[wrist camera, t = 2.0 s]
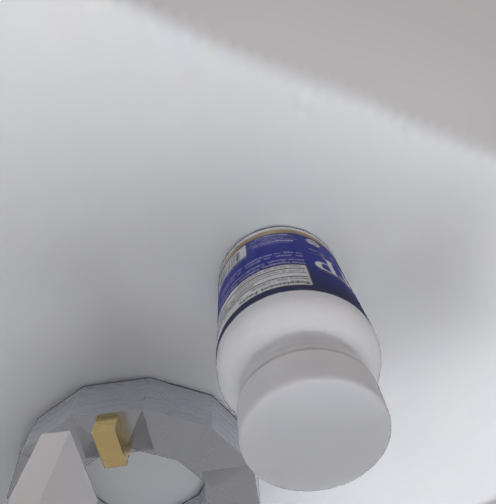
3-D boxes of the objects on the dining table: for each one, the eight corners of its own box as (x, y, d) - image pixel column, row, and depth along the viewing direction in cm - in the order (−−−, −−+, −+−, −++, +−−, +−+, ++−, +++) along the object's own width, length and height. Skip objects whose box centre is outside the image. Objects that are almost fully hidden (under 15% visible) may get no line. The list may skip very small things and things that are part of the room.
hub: (67, 551, 26) (50, 605, 24) (-7, 399, 21) (-39, 446, 19) (266, 525, 26) (271, 576, 24) (239, 365, 21) (241, 408, 19)
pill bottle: (353, 301, 20) (441, 470, 12) (249, 345, 21) (266, 533, 13) (310, 202, 18) (381, 324, 10) (196, 254, 19) (175, 409, 11)
